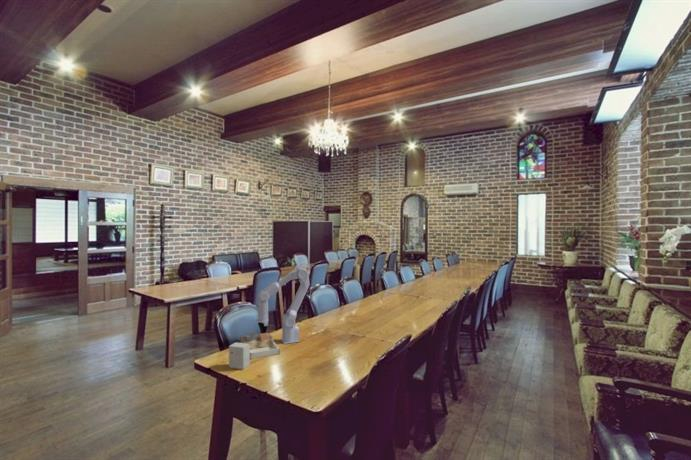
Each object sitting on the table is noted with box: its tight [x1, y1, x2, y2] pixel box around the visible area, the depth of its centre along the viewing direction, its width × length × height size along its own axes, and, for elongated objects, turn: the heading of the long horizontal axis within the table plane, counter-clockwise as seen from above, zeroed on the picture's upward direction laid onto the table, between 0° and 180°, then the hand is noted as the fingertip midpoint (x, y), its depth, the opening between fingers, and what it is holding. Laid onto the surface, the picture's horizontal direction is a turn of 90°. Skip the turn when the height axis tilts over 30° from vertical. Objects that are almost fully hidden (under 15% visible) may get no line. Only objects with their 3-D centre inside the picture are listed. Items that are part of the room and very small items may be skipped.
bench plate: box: [240, 333, 275, 350], centre depth 188 cm, size 16×12×4 cm
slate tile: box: [245, 332, 258, 341], centre depth 187 cm, size 5×5×2 cm
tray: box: [250, 341, 281, 360], centre depth 177 cm, size 16×12×3 cm
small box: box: [228, 342, 251, 370], centre depth 160 cm, size 8×6×10 cm
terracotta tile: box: [258, 332, 271, 341], centre depth 188 cm, size 5×5×2 cm
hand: (263, 335), depth 191 cm, fingers closed
